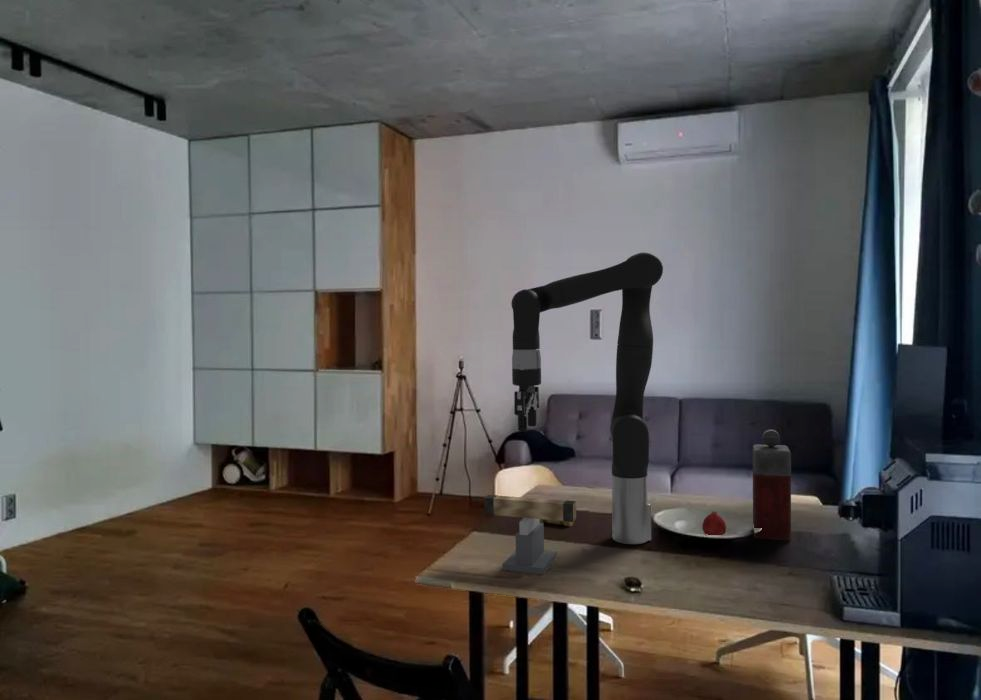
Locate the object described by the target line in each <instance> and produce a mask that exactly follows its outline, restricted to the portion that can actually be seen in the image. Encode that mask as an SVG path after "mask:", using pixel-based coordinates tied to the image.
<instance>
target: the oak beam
mask: <svg viewBox="0 0 981 700" xmlns="http://www.w3.org/2000/svg"><path fill="white" fill-rule="evenodd" d="M483 502H484V503H483V504H484V505H483V509H484V515H486V516H501V517H511V518H512V517H514V518H522V519H523V518H535V519H547V520H559V521H567V522H573V523H574V522H575V520H576V519H577V501H576V500H567V499H566V500H564V499H563V500H562V499H549V498H535V497H534V498H533V497H522V496H521V497H520V496H518V497H517V496H507V495H505V496H504V495H498V494H497V495H496V494H488V495H485V496H484V497H483Z"/></svg>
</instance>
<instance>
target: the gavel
mask: <svg viewBox="0 0 981 700" xmlns="http://www.w3.org/2000/svg"><path fill="white" fill-rule="evenodd" d="M540 523H544V524H545V523H547V524H550V525H551V524H552V525H559V526H560V525H561V526H562V525H563V526H564V527H572V526H573V525H574V522H567V521H559V520H547V519H540Z"/></svg>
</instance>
